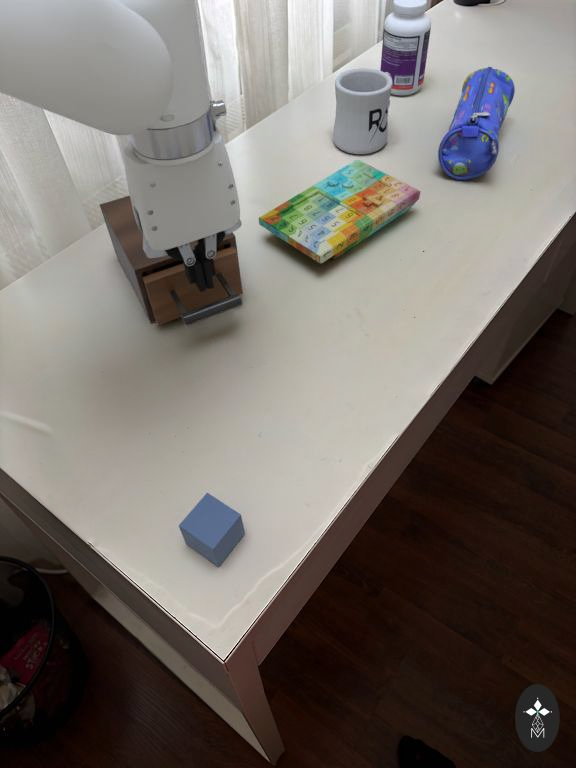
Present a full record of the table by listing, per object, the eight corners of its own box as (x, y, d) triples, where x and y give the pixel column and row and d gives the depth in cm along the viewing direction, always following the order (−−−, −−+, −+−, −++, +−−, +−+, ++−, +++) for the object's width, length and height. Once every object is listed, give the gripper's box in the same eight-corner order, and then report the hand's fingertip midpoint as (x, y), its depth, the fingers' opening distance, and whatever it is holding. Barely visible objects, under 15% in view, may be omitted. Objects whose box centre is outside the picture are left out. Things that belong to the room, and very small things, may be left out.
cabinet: (242, 290, 77) (235, 236, 70) (150, 323, 74) (134, 270, 67) (201, 229, 85) (191, 176, 78) (116, 257, 82) (99, 204, 75)
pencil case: (488, 190, 89) (504, 129, 81) (431, 180, 91) (441, 120, 83) (507, 119, 101) (523, 61, 94) (457, 112, 103) (468, 54, 96)
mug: (365, 162, 95) (370, 100, 87) (321, 144, 98) (322, 83, 91) (408, 131, 100) (416, 70, 92) (365, 115, 104) (369, 55, 96)
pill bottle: (403, 73, 113) (412, -12, 102) (431, 89, 109) (445, 1, 98) (369, 85, 111) (376, -1, 100) (397, 102, 107) (407, 13, 95)
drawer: (262, 322, 72) (257, 279, 66) (174, 356, 69) (162, 314, 63) (203, 236, 83) (195, 194, 77) (125, 262, 80) (111, 220, 74)
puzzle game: (421, 185, 82) (319, 250, 74) (416, 213, 86) (319, 279, 78) (359, 154, 88) (258, 212, 79) (357, 182, 91) (260, 240, 83)
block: (218, 567, 54) (212, 550, 51) (185, 544, 55) (177, 525, 52) (245, 533, 56) (241, 514, 52) (212, 511, 57) (207, 492, 54)
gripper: (230, 90, 57) (248, 243, 71) (78, 132, 53) (129, 285, 67) (264, 124, 52) (276, 280, 67) (101, 172, 49) (151, 327, 63)
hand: (202, 282), depth 67 cm, fingers closed
